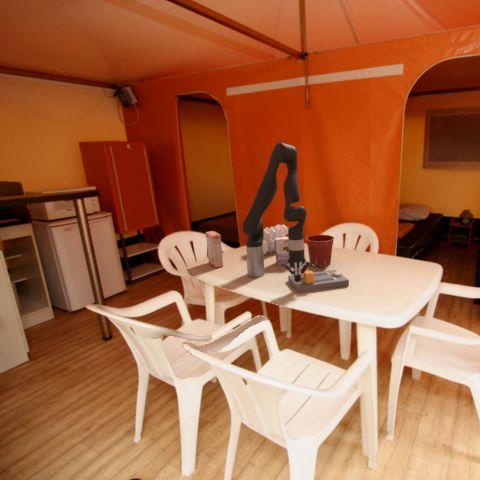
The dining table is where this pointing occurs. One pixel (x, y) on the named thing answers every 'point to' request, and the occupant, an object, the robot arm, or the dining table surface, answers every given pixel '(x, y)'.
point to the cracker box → (214, 249)
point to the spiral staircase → (273, 237)
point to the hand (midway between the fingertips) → (297, 281)
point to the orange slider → (308, 277)
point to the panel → (320, 281)
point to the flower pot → (320, 249)
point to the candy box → (281, 250)
